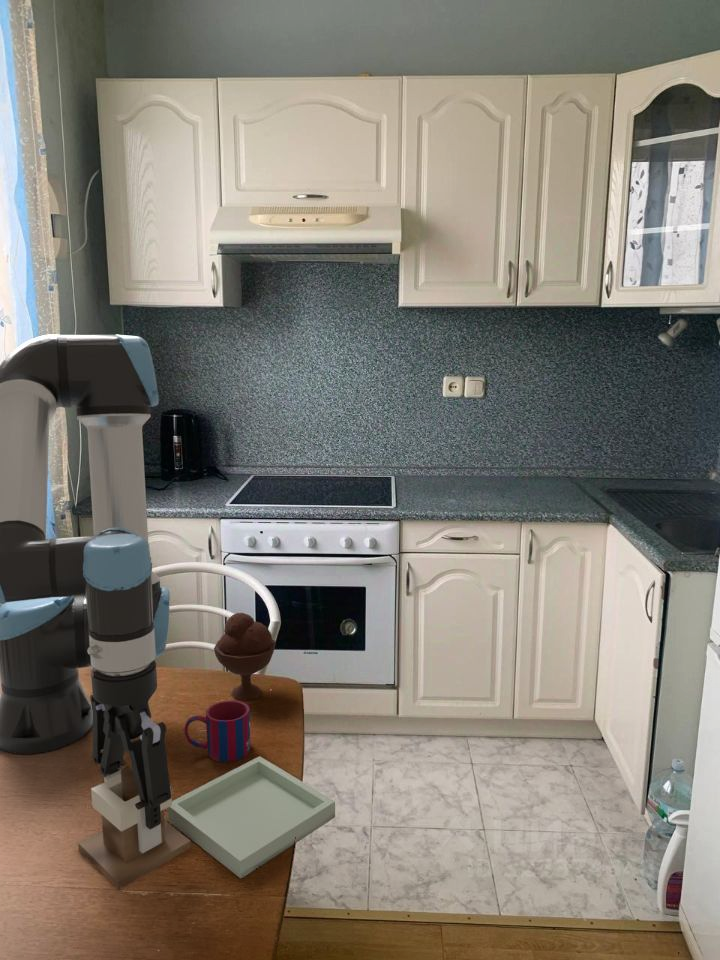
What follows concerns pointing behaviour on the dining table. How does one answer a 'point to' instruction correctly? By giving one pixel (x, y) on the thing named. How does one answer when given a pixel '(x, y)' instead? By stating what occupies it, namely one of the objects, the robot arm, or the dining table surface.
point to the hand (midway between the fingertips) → (133, 832)
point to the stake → (130, 844)
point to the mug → (225, 731)
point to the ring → (117, 804)
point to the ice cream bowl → (245, 652)
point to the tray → (250, 814)
